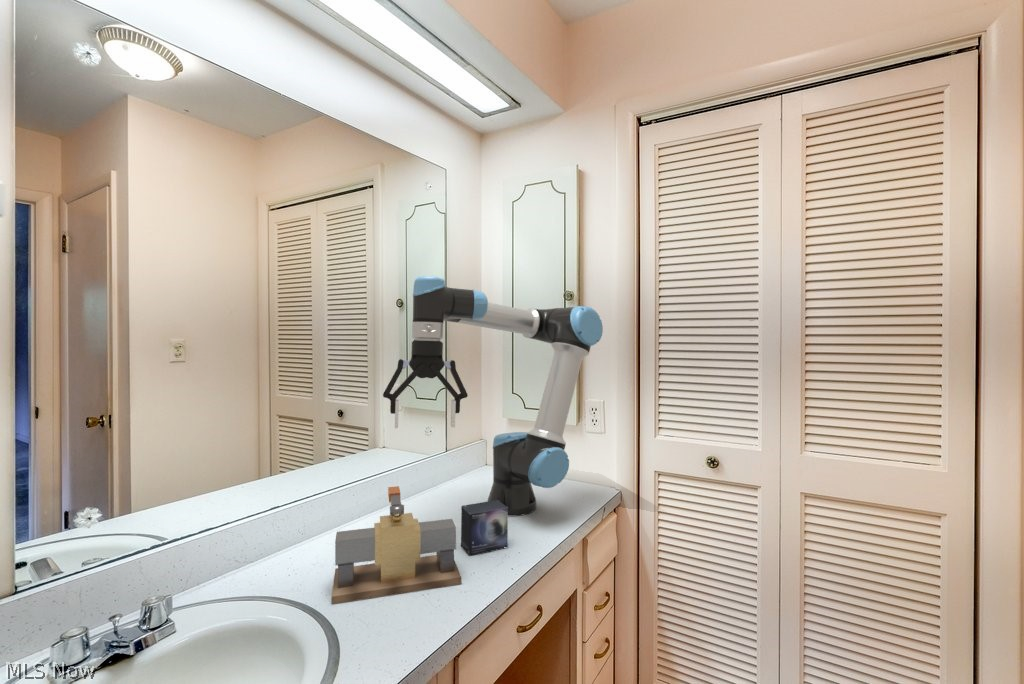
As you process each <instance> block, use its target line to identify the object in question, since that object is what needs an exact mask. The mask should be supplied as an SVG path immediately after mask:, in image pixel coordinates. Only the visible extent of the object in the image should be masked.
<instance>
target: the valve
mask: <svg viewBox="0 0 1024 684" xmlns="http://www.w3.org/2000/svg"><path fill="white" fill-rule="evenodd" d="M373 524H374V527H368V528H360V529H359V528H358V529H352V530H341V531H340V530H339V531H336V533H335V541H334V545H335V546H334V547H335V549H334V551H335V555H334V556H335V559H334V560H335V561H334V563H335V564H334V565H335V566H337V568H338V588H343V587H350V586H353V583H354V566H355V564H358V563H365V562H371V561H372V562H373V561H374V563H375V565H380V574H381V583H385V582H392V581H399V580H406V579H412V578H415V560H417V559H421V557H422V556H421V555H424V554H425V555H426V554H431V553H433V554H434V553H436V555H437V564H438V567H439V570H440V573H445V572H452V571H454V560H455V550H456V551H457V526H456V524H455V523H454V520H453V518H446V519H438V520H437V519H436V520H429V521H428V520H427V521H420V522H419V519H418V518H414V515H413V512H407V513H406V512H405V513H404V514H402V515H399V516H392V515H390V514H389V515H380V516H379V522H374V523H373Z"/></svg>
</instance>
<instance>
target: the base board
mask: <svg viewBox="0 0 1024 684" xmlns="http://www.w3.org/2000/svg"><path fill="white" fill-rule="evenodd" d="M334 569H335V570H334V576H333V584H332V592H331V605H334V604H335V605H336V604H342V603H348V602H354V601H360V600H361V601H363V600H369V599H374V598H380V597H387V596H394V595H400V594H406V593H414V592H419V591H425V590H432V589H439V588H446V587H451V586H458V585H462V575H461V573H460V571H459V568H458V565H457V563H456V561H455V559H454V571H452V572H445V573H440V570H439V567H438V564H437V554H435V555H425V556H421V559H417V560H415V578H412V579H406V580H399V581H392V582H385V583H381V574H380V565H375V562H374V563H373V562H372V563H367V564H359V565H354V583H353V586H350V587H343V588H338V567H337V568H334Z"/></svg>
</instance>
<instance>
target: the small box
mask: <svg viewBox="0 0 1024 684" xmlns="http://www.w3.org/2000/svg"><path fill="white" fill-rule="evenodd" d="M460 510H461V517H460V518H461V519H460V520H461V522H460V523H461V527H460V535H461V536H460V547H461V548H462V549H463V550H464V551H465V552H466V553H467V555H468V556H470V555H471V556H474V555H479V553H480V554H484V553H488V552H487V551H489V552H492V551H491V550H494V551H497V550H496V549H498V550H501V549H500V548H503V549H505V548H504V547H507V548H508V534H509V533H508V530H509V529H508V528H509V527H508V525H509V524H508V523H509V522H508V519H509V516H508V507H507V506H505V505H504V504H503V503H501V502H500V501H499V500H493V501H488V500H487V501H483V502H482V501H481V502H476V503H469V504H466V505H465V504H464V505H461V509H460ZM483 552H484V553H483Z"/></svg>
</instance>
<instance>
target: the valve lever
mask: <svg viewBox="0 0 1024 684" xmlns="http://www.w3.org/2000/svg"><path fill="white" fill-rule="evenodd" d="M387 497H388V503H390V506H389V515H392V516H399V515H402V514H405V505H404V504H402V500H401V490H400V486H398V485H397V486H387Z"/></svg>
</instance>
